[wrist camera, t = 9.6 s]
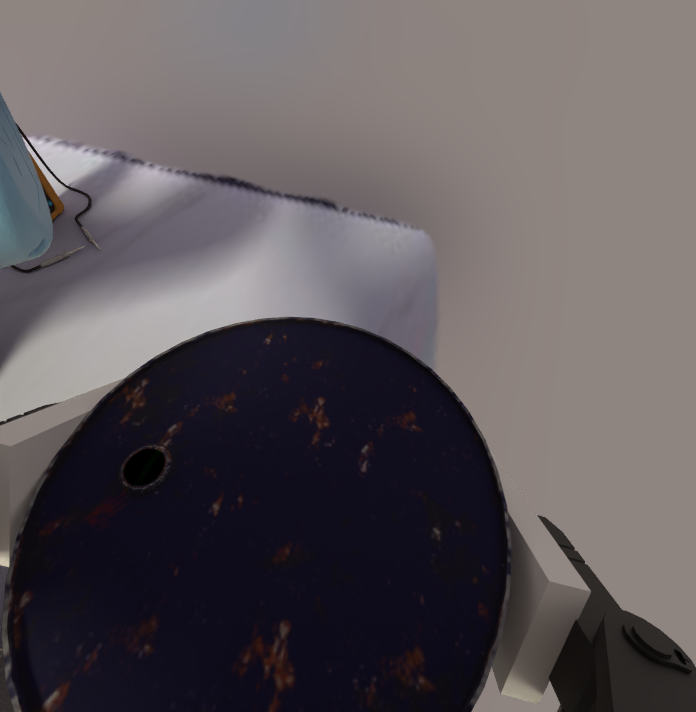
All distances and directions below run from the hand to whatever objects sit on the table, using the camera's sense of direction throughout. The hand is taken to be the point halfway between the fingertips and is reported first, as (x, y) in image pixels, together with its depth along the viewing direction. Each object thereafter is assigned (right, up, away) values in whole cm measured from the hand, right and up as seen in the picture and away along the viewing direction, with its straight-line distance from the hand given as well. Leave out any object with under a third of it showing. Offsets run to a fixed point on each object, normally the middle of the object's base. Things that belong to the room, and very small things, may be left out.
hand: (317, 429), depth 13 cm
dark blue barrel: (-1, -9, +6) cm, 11 cm away
